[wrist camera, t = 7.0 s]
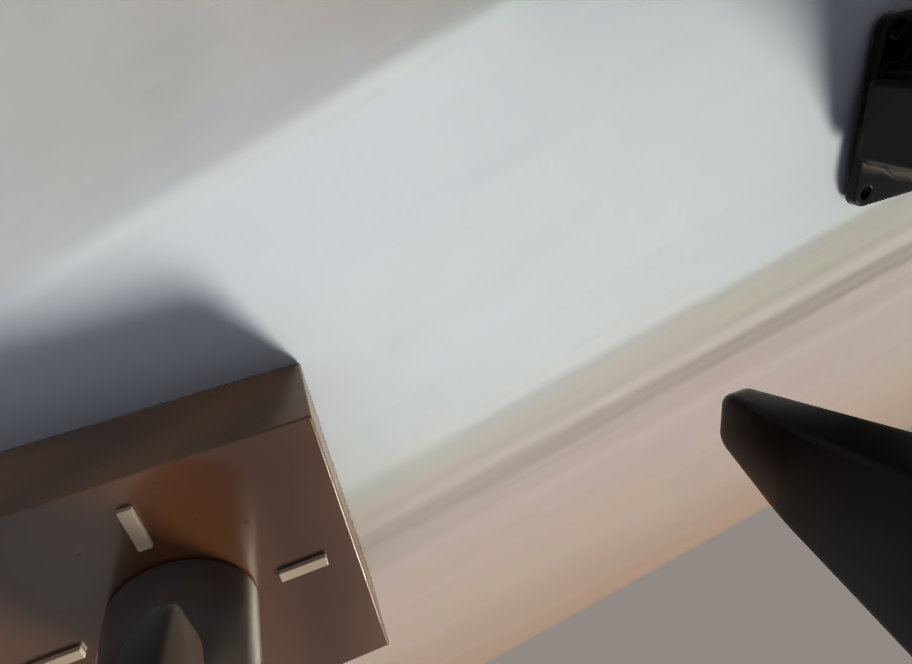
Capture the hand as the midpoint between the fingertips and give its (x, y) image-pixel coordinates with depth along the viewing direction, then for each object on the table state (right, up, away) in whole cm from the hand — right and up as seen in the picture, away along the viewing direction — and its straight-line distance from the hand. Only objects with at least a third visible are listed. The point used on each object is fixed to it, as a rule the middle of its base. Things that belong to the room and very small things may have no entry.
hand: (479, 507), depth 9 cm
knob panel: (-11, -4, +10) cm, 15 cm away
